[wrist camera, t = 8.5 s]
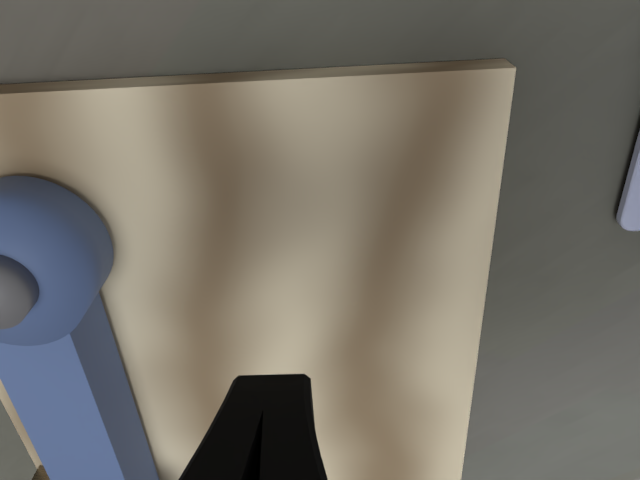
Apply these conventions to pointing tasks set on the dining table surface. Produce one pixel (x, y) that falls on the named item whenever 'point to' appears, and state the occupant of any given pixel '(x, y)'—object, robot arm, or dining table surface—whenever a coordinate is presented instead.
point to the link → (64, 336)
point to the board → (288, 243)
